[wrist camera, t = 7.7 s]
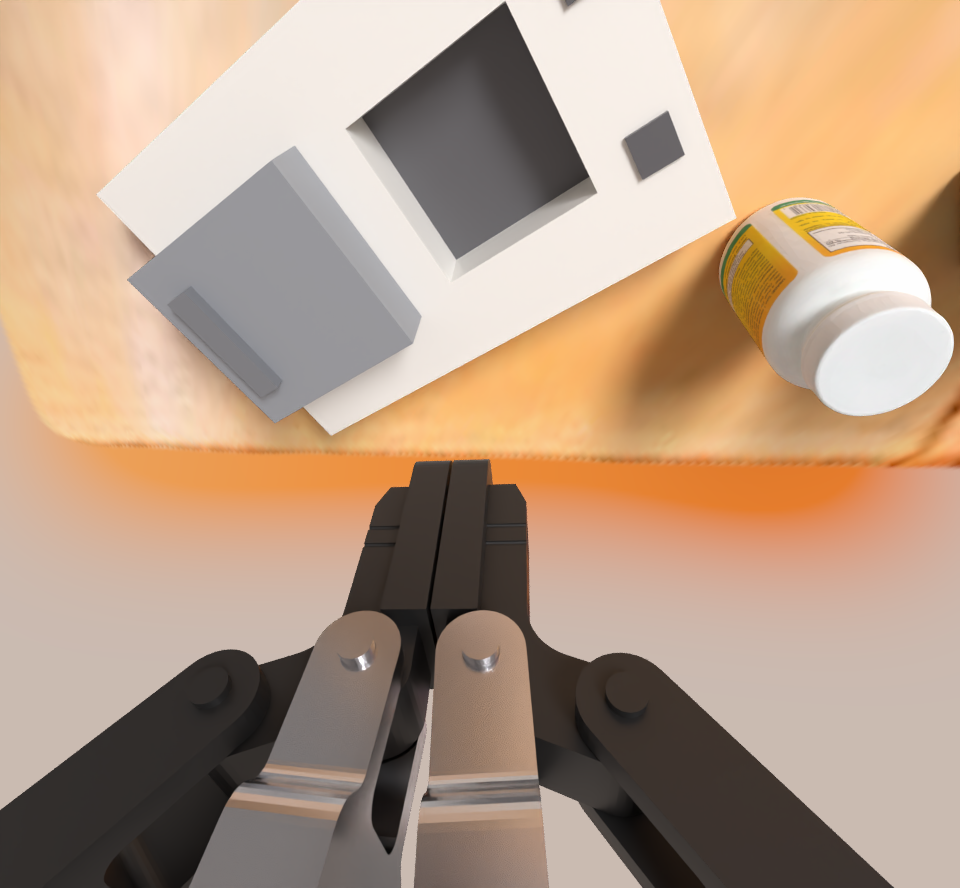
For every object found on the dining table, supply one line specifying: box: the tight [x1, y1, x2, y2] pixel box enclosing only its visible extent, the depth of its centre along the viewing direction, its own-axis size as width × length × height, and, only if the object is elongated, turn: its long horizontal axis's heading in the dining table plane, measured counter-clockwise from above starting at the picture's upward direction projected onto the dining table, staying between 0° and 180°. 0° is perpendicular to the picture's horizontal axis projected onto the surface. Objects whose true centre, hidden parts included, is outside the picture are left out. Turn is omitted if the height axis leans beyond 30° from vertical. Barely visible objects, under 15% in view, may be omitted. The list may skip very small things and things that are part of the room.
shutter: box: [127, 146, 422, 423], centre depth 23 cm, size 8×8×3 cm
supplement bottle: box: [719, 197, 954, 416], centre depth 22 cm, size 5×5×10 cm
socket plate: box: [96, 0, 736, 435], centre depth 23 cm, size 14×21×3 cm, turn 123°
